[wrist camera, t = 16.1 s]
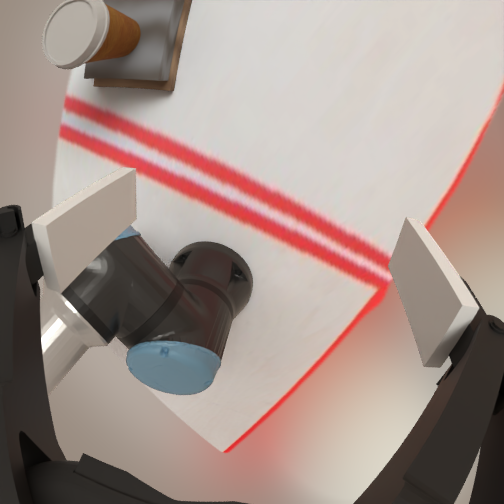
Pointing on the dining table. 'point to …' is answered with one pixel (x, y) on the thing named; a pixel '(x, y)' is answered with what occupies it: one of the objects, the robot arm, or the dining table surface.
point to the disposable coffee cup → (87, 33)
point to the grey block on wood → (146, 46)
